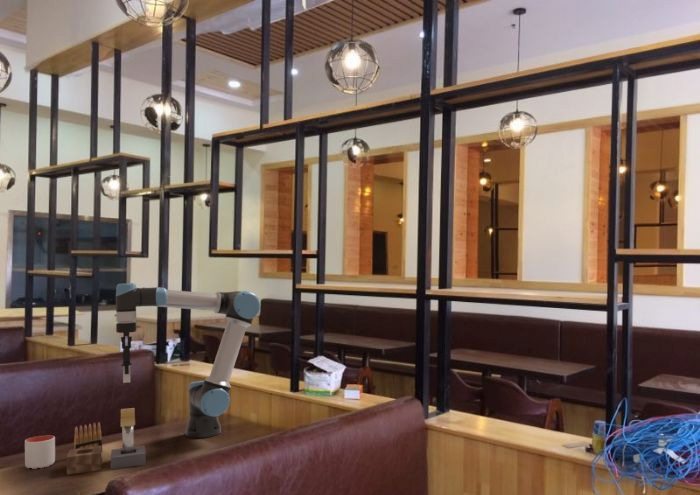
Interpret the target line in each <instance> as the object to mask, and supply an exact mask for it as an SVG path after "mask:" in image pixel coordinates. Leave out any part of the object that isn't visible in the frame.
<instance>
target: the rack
mask: <svg viewBox="0 0 700 495" xmlns="http://www.w3.org/2000/svg"><path fill="white" fill-rule="evenodd" d="M102 453H103V445H102V446H95V447H87V448H78V449H74V448H71V449H69V451H68V453H67V454H66V475H75V474H80V473H87V472H88V473H89V472H95V471H97V472H99V471H101V470H102V469H101V467H102V462H103V458H102V457H103V456H102Z"/></svg>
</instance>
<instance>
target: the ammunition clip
mask: <svg viewBox="0 0 700 495" xmlns="http://www.w3.org/2000/svg"><path fill="white" fill-rule="evenodd" d="M73 438H74V439H73V449H78V448H87V447H95V446H102V447H103V440H102V430H101V423H100V422H99V421H98V422H97V426H96V422H93V425H92V424H91V423H89V424H88V427H87V424H84V426H82V425H79V430H78V426H77V425H76V426H75V427H74V437H73Z"/></svg>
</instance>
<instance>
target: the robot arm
mask: <svg viewBox="0 0 700 495" xmlns="http://www.w3.org/2000/svg"><path fill="white" fill-rule="evenodd" d="M115 290H116V292H115V312H116V314H114V317H115V319H116V321H115V322H116V324H115V325H116V326H115V332H116V333H118V334H122V335H123V336H121V337H120V342H121V348H122V352H123V353H122V357H123V358H122V364H121V367H122V383H123V384H125V383H131V366H132V365H133V362H131V354H130V353H131V350H130V349H131V348H132V340H133V339H132V337H133V336H130V333H135V332H136V331H137V322H136V321H137V307H139V308H140V307H159V308H161V307H163V308H173V309H175V308H176V309H184V310H185V309H186V310H198V311H199V310H200V311H209V312H211V311H212V312H214V314H221V315H225V320H226V325H225V329H224V332H223V334H222V337H221V341H220V344H219V346H218V349H217V353H216V355H215V359H214V362H213V365H212V368H211V370H210V374H209V376H207V377H205V379H204V380H200V381H199V380H198V381H192V382H189V384H188V405H189V406H188V408H189V409H188V410H189V418H188V421H187V425H186V428H185V436H186V437H187V436H188V438H191V439H192V438H194V439H197V438H198V439H200V438H209V437H214V436H217V435H220V434H221V433H222V428H221V423H220V421H219V418H218V417H219V416H221V415H223V414H225V412H226V411H227V410H228V409H229V407H230V403H231V398H230V391H231V389H232V385H231V383H230V380H231V376H232V374H233V370H234V367H235V364H236V361H237V358H238V356H239V352H240V349H241V346H242V344H243V339H244V337H245V333H246V331H247V328H249V327H251V325H252V323H253V322H254V318H255V317H256V316H257V315H258V314H259V313H260V310H261V301H260V299H259V297H258V296H257V295H256V294H255V293H253V292H251V291H247V290H240V291H239V290H238V291H237V290H236V291H228V292H225V291H223V292H222V291H217V292H215V293H209V292H207V293H206V292H200V291H199V292H198V291H197V292H196V291H185V290H175V289H167V288H165V287H159V286H158V287H157V286H156V287H137V284H136V283H132V282H131V283H118V284H117V285H116V288H115Z"/></svg>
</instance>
